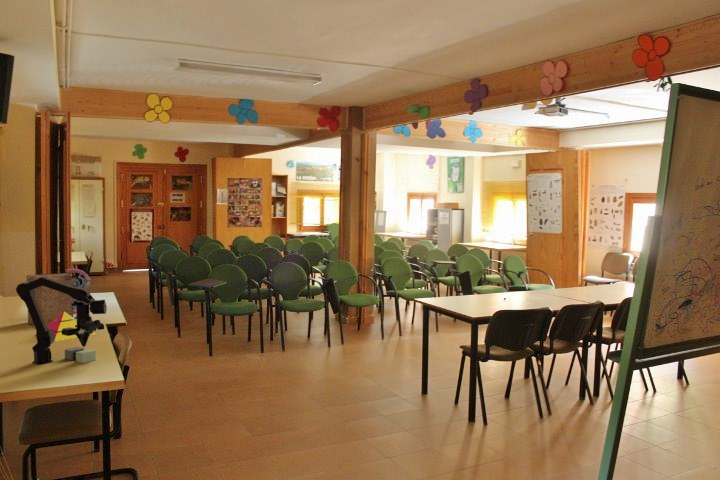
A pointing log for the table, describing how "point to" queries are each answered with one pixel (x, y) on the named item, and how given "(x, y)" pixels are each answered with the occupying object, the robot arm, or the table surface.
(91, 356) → the sage green end cap
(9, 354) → the table surface
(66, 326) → the pyramid toy
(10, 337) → the table surface
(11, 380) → the table surface
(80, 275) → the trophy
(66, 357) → the charcoal end cap
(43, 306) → the book
